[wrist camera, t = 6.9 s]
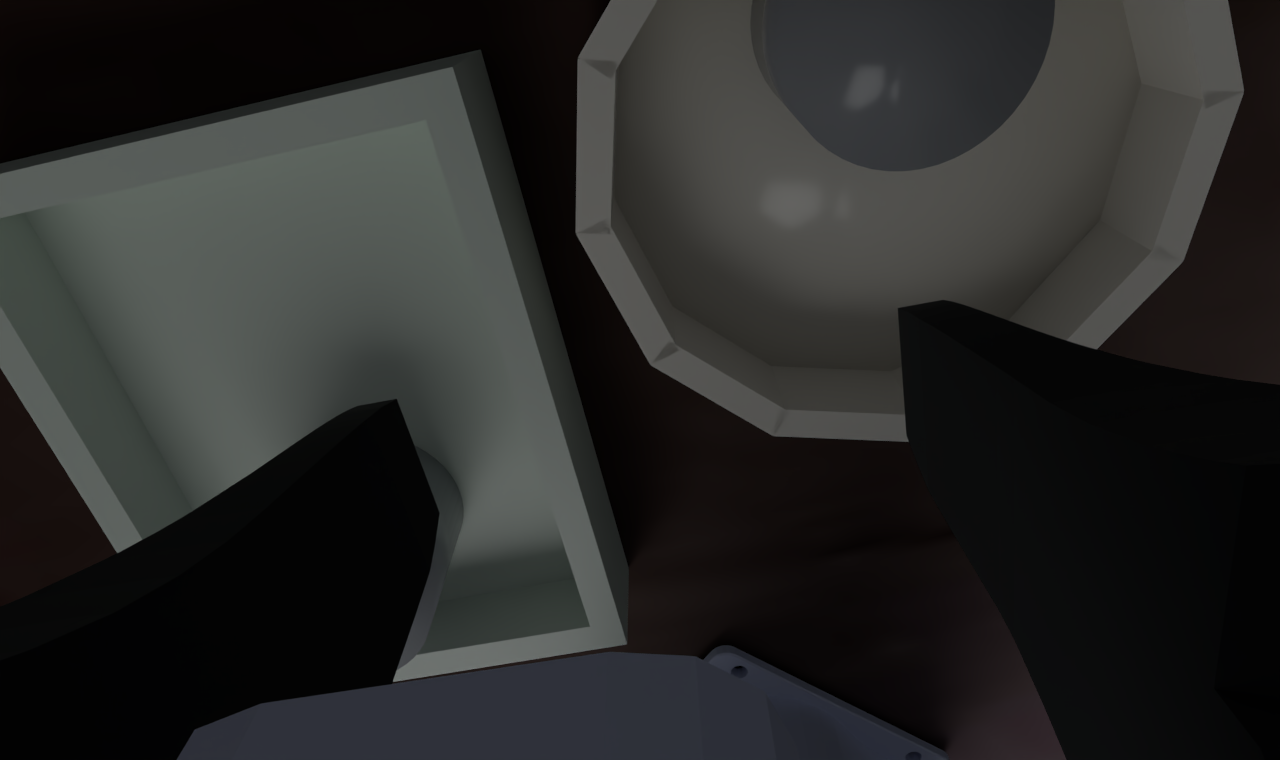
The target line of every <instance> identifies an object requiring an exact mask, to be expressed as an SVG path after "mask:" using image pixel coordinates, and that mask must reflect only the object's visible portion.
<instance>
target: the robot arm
mask: <svg viewBox="0 0 1280 760" xmlns="http://www.w3.org/2000/svg"><path fill="white" fill-rule="evenodd" d="M898 320H899V335H900V349H901V364H902V379H903V393H904V408H905V422H906V435H907V438H908V441H909V443H910V446H911V448H912V451H913V454H914V456H915V459H916V461H917V464H918V466H919V469H920V471H921V474H922V476H923V479H924V481H925V483H926V486H927V488H928V490H929V492H930V494H931V496H932V498H933V499H934V501H935V503H936V505H937V506H938V508H939V510H940V511H941V513H942V515H943V517H944V518H945V520H946V522H947V523H948V525H949V527H950V529H951V530H952V532H953V534H954V535H955V537H956V539H957V540H958V542H959V544H960V546H961V547H962V549H963V551H964V552H965V554H966V556H967V557H968V559H969V561H970V562H971V564H972V566H973V567H974V569H975V571H976V572H977V574H978V576H979V578H980V579H981V581H982V583H983V584H984V586H985V588H986V589H987V591H988V593H989V594H990V596H991V598H992V599H993V601H994V603H995V605H996V606H997V608H998V610H999V611H1000V613H1001V615H1002V617H1003V619H1004V621H1005V623H1006V625H1007V626H1008V628H1009V630H1010V632H1011V634H1012V636H1013V638H1014V640H1015V642H1016V644H1017V646H1018V649H1019V651H1020V653H1021V655H1022V658H1023V660H1024V662H1025V664H1026V667H1027V669H1028V671H1029V673H1030V676H1031V678H1032V680H1033V682H1034V685H1035V687H1036V689H1037V691H1038V694H1039V696H1040V698H1041V700H1042V702H1043V705H1044V707H1045V709H1046V712H1047V714H1048V717H1049V719H1050V721H1051V724H1052V726H1053V728H1054V731H1055V733H1056V735H1057V738H1058V740H1059V743H1060V745H1061V747H1062V750H1063V752H1064V754H1065V757H1066V759H1067V760H1280V385H1275V384H1267V383H1259V382H1251V381H1243V380H1236V379H1229V378H1223V377H1217V376H1210V375H1205V374H1199V373H1194V372H1189V371H1184V370H1179V369H1174V368H1169V367H1165V366H1160V365H1155V364H1150V363H1145V362H1141V361H1137V360H1133V359H1129V358H1125V357H1121V356H1117V355H1114V354H1110V353H1107V352H1103V351H1100V350H1096V349H1093V348H1090V347H1086V346H1083V345H1079V344H1076V343H1073V342H1070V341H1066V340H1063V339H1060V338H1057V337H1054V336H1051V335H1048V334H1045V333H1042V332H1039V331H1036V330H1034V329H1031V328H1028V327H1025V326H1022V325H1019V324H1017V323H1014V322H1011V321H1008V320H1006V319H1003V318H1000V317H997V316H995V315H992V314H989V313H986V312H983V311H981V310H978V309H975V308H972V307H969V306H966V305H963V304H959V303H956V302H952V301H947V300H939V301H934V302H928V303H922V304H917V305H911V306H906V307H900V308H898ZM439 515H440V512H439V510H438V507H437V504H436V502H435V499H434V496H433V494H432V491H431V488H430V486H429V483H428V480H427V478H426V475H425V472H424V470H423V467H422V464H421V462H420V459H419V456H418V454H417V451H416V449H415V446H414V443H413V441H412V438H411V435H410V433H409V430H408V427H407V425H406V422H405V419H404V417H403V414H402V411H401V409H400V406H399V403H398V401H397V399H393V400H387V401H382V402H376V403H370V404H365V405H359V406H356V407H354V408H351V409H349V410H347V411H345V412H343V413H341V414H339V415H338V416H336V417H334V418H333V419H331V420H329V421H328V422H326V423H325V424H323V425H321V426H320V427H318V428H317V429H315V430H314V431H312V432H311V433H309V434H308V435H306V436H305V437H303V438H302V439H300V440H299V441H297V442H296V443H295V444H293V445H292V446H290V447H289V448H287V449H286V450H284V451H283V452H281V453H280V454H279V455H277V456H276V457H274V458H273V459H271V460H270V461H268V462H267V463H265V464H264V465H262V466H261V467H260V468H258V469H257V470H255V471H254V472H252V473H251V474H249V475H248V476H246V477H245V478H243V479H241V480H240V481H238V482H237V483H235V484H234V485H232V486H231V487H229V488H227V489H226V490H224V491H223V492H221V493H220V494H218V495H217V496H215V497H214V498H212V499H210V500H209V501H207V502H206V503H204V504H203V505H201V506H200V507H198V508H196V509H195V510H193V511H192V512H190V513H188V514H187V515H185V516H183V517H182V518H180V519H178V520H177V521H175V522H173V523H172V524H170V525H168V526H166V527H165V528H163V529H161V530H159V531H158V532H156V533H154V534H152V535H150V536H148V537H147V538H145V539H143V540H141V541H139V542H137V543H135V544H134V545H132V546H130V547H128V548H126V549H124V550H122V551H121V552H119V553H117V554H115V555H113V556H111V557H109V558H107V559H105V560H103V561H101V562H99V563H97V564H94V565H92V566H90V567H88V568H86V569H84V570H82V571H79V572H77V573H75V574H73V575H71V576H69V577H66V578H64V579H62V580H60V581H58V582H56V583H54V584H51V585H49V586H47V587H45V588H43V589H41V590H38V591H36V592H34V593H32V594H30V595H28V596H25V597H23V598H21V599H18V600H16V601H14V602H11V603H9V604H6V605H4V606H1V607H0V760H949V757H948V755H947V753H946V752H945V751H943V750H941V749H939V748H937V747H935V746H933V745H931V744H929V743H927V742H925V741H923V740H921V739H919V738H917V737H915V736H913V735H911V734H909V733H907V732H905V731H903V730H901V729H899V728H897V727H895V726H893V725H891V724H889V723H887V722H885V721H883V720H881V719H879V718H877V717H875V716H873V715H871V714H869V713H867V712H865V711H863V710H860V709H858V708H856V707H854V706H852V705H850V704H848V703H846V702H844V701H842V700H840V699H838V698H836V697H834V696H832V695H830V694H828V693H826V692H824V691H822V690H820V689H818V688H816V687H814V686H812V685H810V684H808V683H806V682H804V681H802V680H800V679H798V678H796V677H794V676H792V675H790V674H788V673H786V672H784V671H782V670H780V669H778V668H776V667H774V666H772V665H770V664H768V663H766V662H764V661H762V660H760V659H758V658H756V657H754V656H752V655H750V654H748V653H746V652H743V651H741V650H739V649H737V648H735V647H733V646H729V645H722V646H719V647H716V648H715V649H713V650H712V651H711V652H710V653H709V654H708V655H707V656H706V657H705V658H704V660H702V659H700V658H698V657H696V656H683V655H663V654H643V653H623V652H606V653H599V654H592V655H585V656H579V657H572V658H565V659H558V660H552V661H545V662H538V663H531V664H525V665H518V666H511V667H504V668H498V669H491V670H484V671H477V672H471V673H464V674H457V675H450V676H444V677H437V678H430V679H423V680H417V681H410V682H403V683H396V684H392V682H393V679H394V677H395V674H396V671H397V668H398V665H399V662H400V659H401V656H402V653H403V650H404V647H405V645H406V642H407V639H408V636H409V633H410V630H411V627H412V624H413V621H414V618H415V616H416V613H417V609H418V606H419V603H420V600H421V597H422V594H423V591H424V588H425V585H426V582H427V579H428V576H429V573H430V569H431V564H432V558H433V553H434V548H435V542H436V535H437V528H438V522H439ZM736 666H743V667H742V668H739V669H736V668H734V667H736Z"/></svg>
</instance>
